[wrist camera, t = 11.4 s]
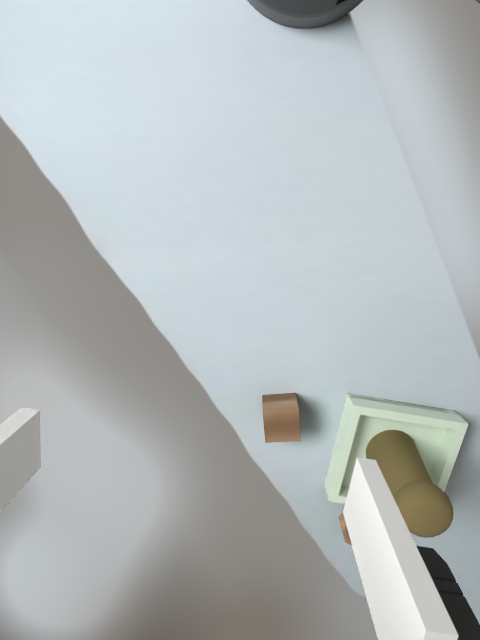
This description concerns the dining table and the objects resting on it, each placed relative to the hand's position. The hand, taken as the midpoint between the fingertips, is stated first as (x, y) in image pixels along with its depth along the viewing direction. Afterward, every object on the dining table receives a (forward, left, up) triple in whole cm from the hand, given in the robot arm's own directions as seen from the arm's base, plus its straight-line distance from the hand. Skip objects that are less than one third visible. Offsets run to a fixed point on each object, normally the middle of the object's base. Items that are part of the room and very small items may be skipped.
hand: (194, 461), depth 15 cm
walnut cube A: (+12, +7, -29) cm, 32 cm away
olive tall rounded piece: (+15, +21, -28) cm, 38 cm away
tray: (+15, +21, -28) cm, 38 cm away
